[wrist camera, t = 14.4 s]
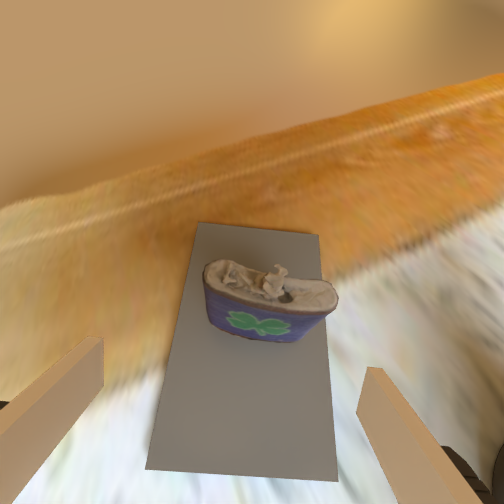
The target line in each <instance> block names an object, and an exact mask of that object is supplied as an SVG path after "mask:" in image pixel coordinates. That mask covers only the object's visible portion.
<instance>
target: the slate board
mask: <svg viewBox="0 0 504 504" xmlns="http://www.w3.org/2000/svg"><path fill="white" fill-rule="evenodd" d="M218 259H228V260H232V261H235V262H236V263H238V264H240V265H243V266H245V267H247V268H250V269H254V270H257V271H260V272H264V273H265V272H266V273H269V272H271V273H273V274H275V273H277V272H278V269H277V268H276V267H274V265H275V264H279V265H280V266H281V267H283V268H285V269H287V271H288V274H287V275H285V277H291V278H297V279H319V280H322V273H321V261H320V248H319V236H318V235H314V234H305V233H296V232H286V231H277V230H268V229H259V228H249V227H240V226H231V225H221V224H212V223H203V222H198V227H197V231H196V236H195V240H194V245H193V250H192V254H191V259H190V263H189V268H188V273H187V277H186V282H185V286H184V291H183V296H182V300H181V305H180V310H179V314H178V319H177V323H176V328H175V333H174V337H173V342H172V346H171V351H170V356H169V360H168V365H167V369H166V374H165V379H164V383H163V388H162V393H161V397H160V402H159V406H158V411H157V416H156V420H155V425H154V429H153V434H152V439H151V443H150V448H149V452H148V457H147V462H146V466H145V470H161V471H176V472H192V473H207V474H223V475H238V476H254V477H269V478H285V479H300V480H316V481H331V482H338V469H337V457H336V445H335V433H334V420H333V408H332V396H331V383H330V371H329V359H328V347H327V334H326V322H325V318H324V319H322V320H321V321H320V322H319V323H318V324H317V325H316V326H315V327H314V328H312V329H311V330H310V331H309V332H308V333H307V334H306V335H305V336H304V337H303V338H302V339H301V340H299V341H296V342H291V343H282V342H281V343H278V342H277V343H276V342H269V341H268V342H267V341H259V340H249V339H246V338H241V337H237V336H235V335H234V336H233V335H231V334H229V333H226V332H223V331H220V330H219V329H217V328H216V327H213V326H212V325H211V323H210V322H209V318H208V314H207V311H206V300H205V293H204V287H203V282H202V272H203V271H204V267H205V265H206V264H208V263H210V262H212V261H215V260H218Z"/></svg>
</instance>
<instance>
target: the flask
mask: <svg viewBox="0 0 504 504" xmlns="http://www.w3.org/2000/svg"><path fill="white" fill-rule="evenodd" d="M274 267H276V268H277V269H278V272H277V273H275V274H273V273H271V272H269V273H266V272H265V273H264V272H260V271H257V270H254V269H250V268H247V267H245V266H243V265H240V264H238V263H236V262H235V261H232V260H228V259H218V260H215V261H212V262H210V263H208V264H206V265H205V267H204V271H203V272H202V282H203V287H204V293H205V300H206V311H207V314H208V318H209V322H210V323H211V325H212V326H213V327H216V328H217V329H219V330H220V331H223V332H226V333H229V334H231V335H233V336H234V335H235V336H237V337H241V338H246V339H249V340H259V341H267V342H268V341H269V342H276V343H277V342H278V343H281V342H282V343H291V342H296V341H299V340H301V339H302V338H303V337H304V336H305V335H306V334H307V333H308V332H309V331H310V330H311V329H312V328H314V327H315V326H316V325H317V324H318V323H319V322H320V321H321V320H322V319H324V318H325V317H326V316H327V315H328V314H330V313H331V312H332V311H333V310H335V309H336V306H337V304H338V299H339V298H338V295H337V293H336V290H335V289H334V288H333V286H332V284H331V283H329V282H327V281H323V280H319V279H297V278H291V277H285V275H287V274H288V271H287V269H285V268H283V267H281V266H280V265H279V264H275V265H274Z"/></svg>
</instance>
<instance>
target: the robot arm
mask: <svg viewBox="0 0 504 504" xmlns="http://www.w3.org/2000/svg"><path fill="white" fill-rule="evenodd" d="M103 386H104V371H103V338H101V337H92V336H87V337H86V338H85V339H83V340H82V341H81V342H80V343H79V344H78V345H76V346H75V347H74V348H73V349H72V350H71V351H69V352H68V353H67V354H66V355H65V356H64V357H62V358H61V359H60V360H59V361H58V362H56V363H55V364H54V365H53V366H52V367H51V368H49V369H48V370H47V371H46V372H45V373H44V374H42V375H41V376H40V377H39V378H38V379H36V380H35V381H34V382H33V383H32V384H31V385H29V386H28V387H27V388H26V389H25V390H24V391H22V392H21V393H20V394H19V395H18V396H16V397H15V398H14V399H13V400H12V401H11V402H6V401H0V504H12V502H13V501H14V500H15V499H16V497H17V496H18V495H19V493H20V492H21V491H22V490H23V488H24V487H25V486H26V485H27V483H28V482H29V481H30V479H31V478H32V477H33V476H34V474H35V473H36V472H37V470H38V469H39V468H40V467H41V465H42V464H43V463H44V462H45V460H46V459H47V458H48V456H49V455H50V454H51V453H52V451H53V450H54V449H55V448H56V446H57V445H58V444H59V442H60V441H61V440H62V439H63V437H64V436H65V435H66V433H67V432H68V431H69V430H70V428H71V427H72V426H73V425H74V423H75V422H76V421H77V419H78V418H79V417H80V416H81V414H82V413H83V412H84V410H85V409H86V408H87V407H88V405H89V404H90V403H91V402H92V400H93V399H94V398H95V396H96V395H97V394H98V393H99V391H100V390H101V389H102V388H103ZM356 414H357V416H358V418H359V420H360V422H361V425H362V427H363V429H364V431H365V433H366V435H367V437H368V439H369V442H370V444H371V446H372V448H373V450H374V452H375V454H376V456H377V459H378V461H379V463H380V465H381V467H382V469H383V471H384V473H385V475H386V478H387V480H388V482H389V484H390V486H391V488H392V490H393V492H394V495H395V497H396V499H397V501H398V503H399V504H504V445H503V446H502V448H501V450H500V452H499V454H498V457H497V460H496V464H495V468H494V475H493V495H491V494H490V492H489V490H488V489H487V487H486V486H485V485H484V484H483V482H482V481H481V480H479V479H478V476H477V475H476V474H475V472H474V471H473V470H472V469H471V467H470V466H469V465H468V464H467V462H466V461H465V460H464V459H463V458H461V457H460V456H459V455H458V454H457V453H456V452H455V451H453V450H452V449H451V448H450V447H448V446H440V445H439V444H438V442H437V441H436V440H435V438H434V437H433V436H432V434H431V433H430V432H429V430H428V429H427V428H426V426H425V425H424V424H423V422H422V421H421V420H420V418H419V417H418V416H417V414H416V413H415V412H414V410H413V409H412V408H411V406H410V405H409V403H408V402H407V401H406V399H405V398H404V397H403V395H402V394H401V393H400V391H399V390H398V389H397V387H396V386H395V385H394V383H393V382H392V381H391V379H390V378H389V377H388V375H387V374H386V373H385V371H384V370H383V369H382V368H374V367H367V370H366V374H365V378H364V382H363V387H362V391H361V395H360V399H359V403H358V407H357V411H356Z"/></svg>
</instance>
